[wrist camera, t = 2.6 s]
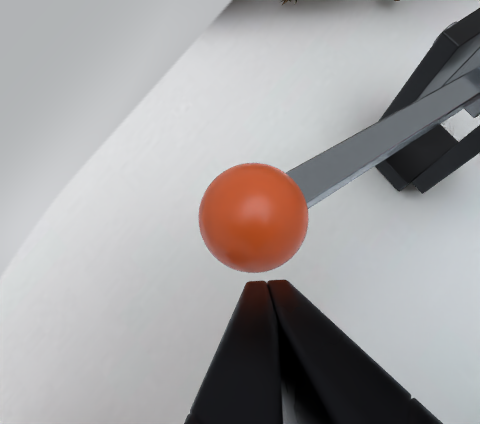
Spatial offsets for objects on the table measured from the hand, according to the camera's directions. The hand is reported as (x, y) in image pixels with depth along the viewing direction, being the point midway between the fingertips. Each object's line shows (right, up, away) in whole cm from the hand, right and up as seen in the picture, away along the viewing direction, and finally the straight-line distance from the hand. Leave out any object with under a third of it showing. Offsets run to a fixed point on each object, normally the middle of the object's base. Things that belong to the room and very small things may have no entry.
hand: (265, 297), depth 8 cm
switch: (+5, +4, +7) cm, 10 cm away
